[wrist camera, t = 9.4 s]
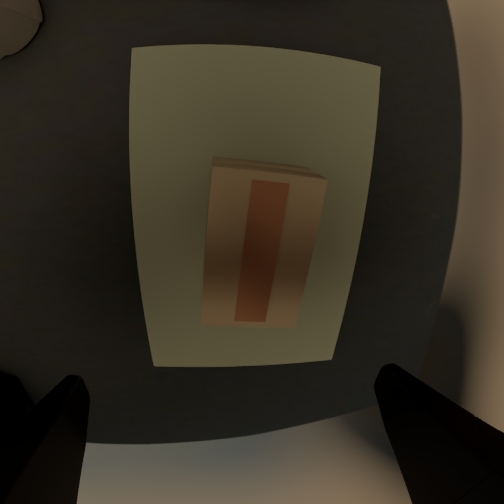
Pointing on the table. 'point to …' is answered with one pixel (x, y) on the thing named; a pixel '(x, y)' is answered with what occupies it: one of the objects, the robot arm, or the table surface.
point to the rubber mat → (248, 148)
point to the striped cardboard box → (258, 242)
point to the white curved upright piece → (18, 24)
